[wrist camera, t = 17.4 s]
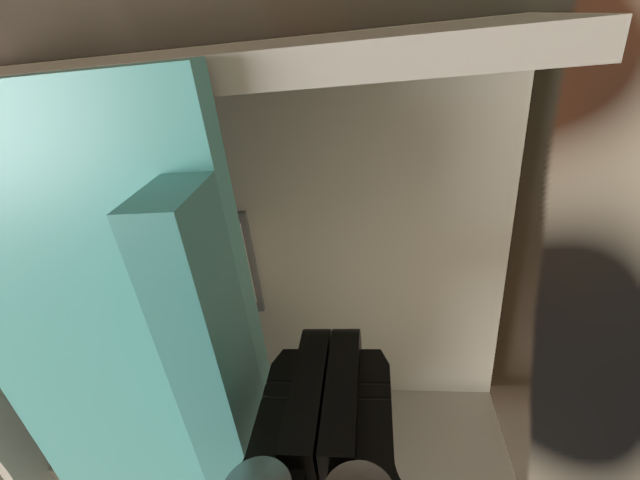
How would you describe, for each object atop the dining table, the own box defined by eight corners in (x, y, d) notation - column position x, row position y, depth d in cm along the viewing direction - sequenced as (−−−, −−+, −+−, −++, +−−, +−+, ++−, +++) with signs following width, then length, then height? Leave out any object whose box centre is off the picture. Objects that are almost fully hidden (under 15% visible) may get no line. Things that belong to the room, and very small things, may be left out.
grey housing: (117, 380, 22) (27, 509, 16) (-25, 68, 15) (-278, 105, 9) (482, 387, 19) (528, 545, 13) (530, 12, 12) (672, 13, 6)
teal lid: (91, 488, 17) (43, 570, 14) (-147, 90, 9) (-329, 118, 7) (297, 501, 15) (283, 593, 13) (204, 55, 8) (134, 74, 6)
